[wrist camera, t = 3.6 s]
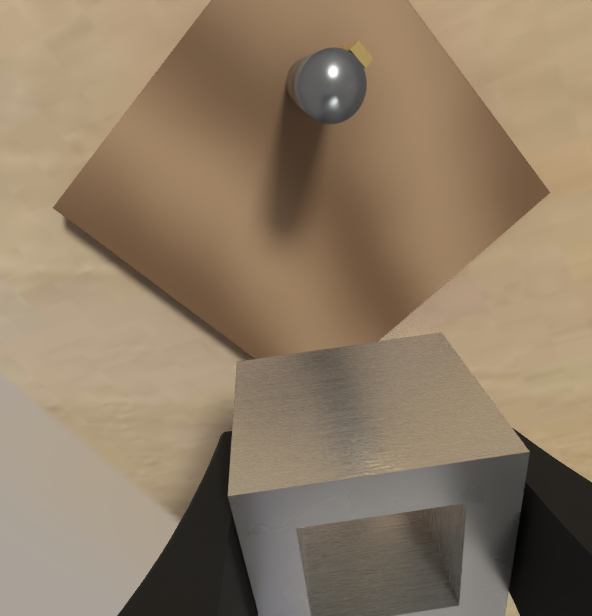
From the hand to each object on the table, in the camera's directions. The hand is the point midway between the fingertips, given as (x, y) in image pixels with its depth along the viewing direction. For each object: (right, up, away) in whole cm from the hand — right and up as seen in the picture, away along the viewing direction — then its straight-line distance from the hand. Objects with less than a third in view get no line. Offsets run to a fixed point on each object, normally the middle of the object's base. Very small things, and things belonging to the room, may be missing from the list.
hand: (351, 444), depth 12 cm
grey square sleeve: (0, 0, 0) cm, 1 cm away
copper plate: (-1, +8, +5) cm, 9 cm away
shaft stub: (-1, +11, +3) cm, 11 cm away
